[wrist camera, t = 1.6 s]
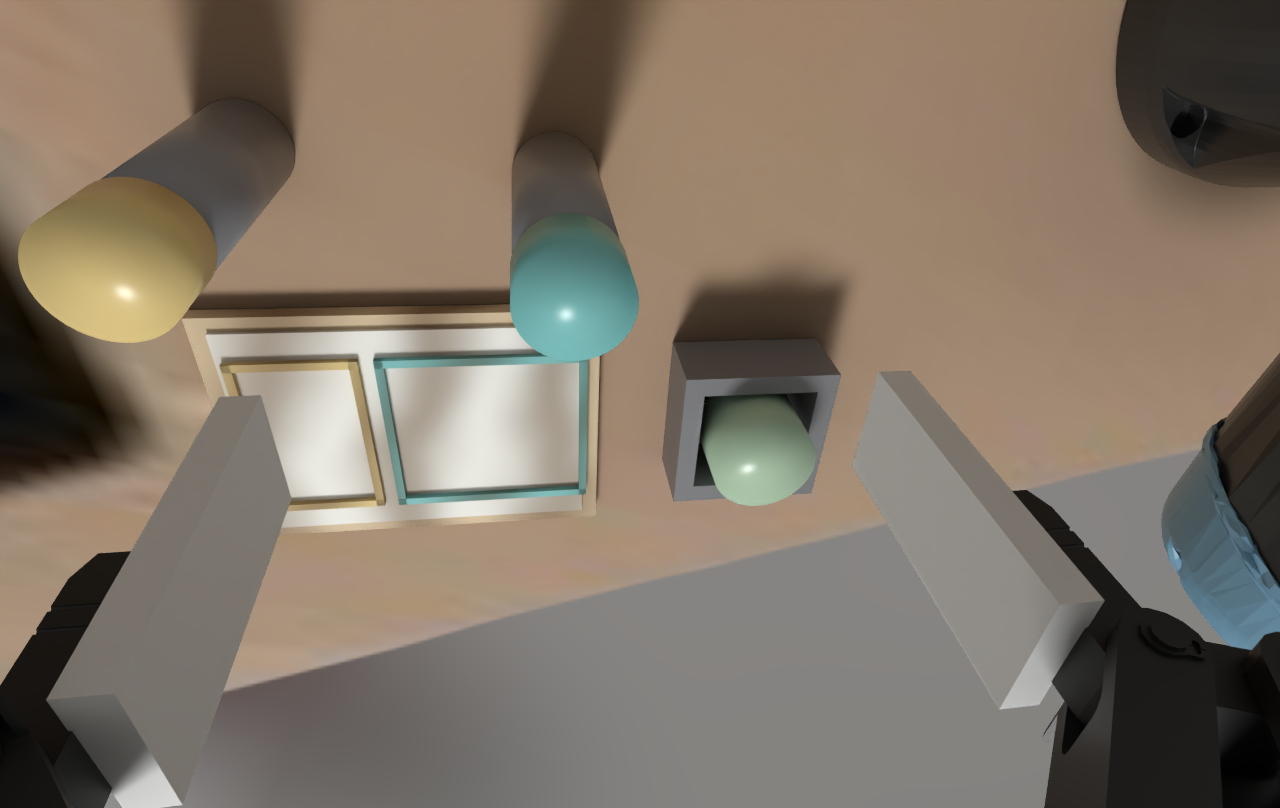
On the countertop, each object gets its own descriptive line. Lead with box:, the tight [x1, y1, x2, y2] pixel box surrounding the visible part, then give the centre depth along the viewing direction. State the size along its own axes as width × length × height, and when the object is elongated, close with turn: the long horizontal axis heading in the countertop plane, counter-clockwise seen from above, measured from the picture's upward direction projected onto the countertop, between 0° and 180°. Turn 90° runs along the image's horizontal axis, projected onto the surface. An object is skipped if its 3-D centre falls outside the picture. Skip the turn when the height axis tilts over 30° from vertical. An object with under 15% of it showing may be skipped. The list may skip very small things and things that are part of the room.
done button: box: [699, 393, 816, 506], centre depth 36 cm, size 5×5×4 cm
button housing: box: [662, 338, 841, 501], centre depth 37 cm, size 8×8×4 cm
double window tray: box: [182, 304, 600, 535], centre depth 36 cm, size 18×13×1 cm
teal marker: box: [510, 132, 639, 361], centre depth 26 cm, size 4×4×12 cm
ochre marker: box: [18, 98, 295, 343], centre depth 23 cm, size 4×4×12 cm
